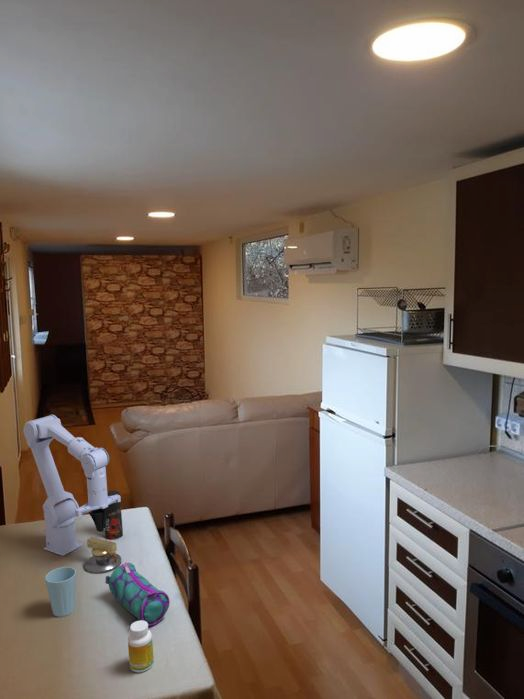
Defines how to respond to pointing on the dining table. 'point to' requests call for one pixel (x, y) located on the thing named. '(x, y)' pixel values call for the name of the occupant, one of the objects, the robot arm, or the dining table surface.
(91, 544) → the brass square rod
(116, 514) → the deodorant
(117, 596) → the pencil case
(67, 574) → the cup
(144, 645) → the supplement bottle
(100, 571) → the post base
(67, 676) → the dining table surface
